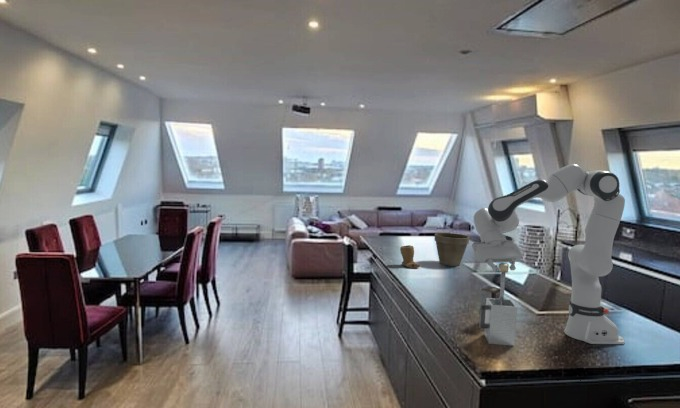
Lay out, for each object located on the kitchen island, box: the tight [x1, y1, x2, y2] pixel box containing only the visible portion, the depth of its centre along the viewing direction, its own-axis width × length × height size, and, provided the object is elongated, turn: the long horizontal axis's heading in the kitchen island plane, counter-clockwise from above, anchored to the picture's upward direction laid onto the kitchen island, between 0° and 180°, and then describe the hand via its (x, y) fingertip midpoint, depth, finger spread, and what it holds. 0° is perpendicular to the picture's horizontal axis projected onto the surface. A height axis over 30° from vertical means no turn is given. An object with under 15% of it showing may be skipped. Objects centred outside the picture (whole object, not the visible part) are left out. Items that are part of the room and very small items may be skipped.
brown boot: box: [399, 244, 421, 269], centre depth 309 cm, size 15×12×15 cm
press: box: [478, 298, 518, 347], centre depth 180 cm, size 13×10×16 cm
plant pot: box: [434, 232, 470, 267], centre depth 322 cm, size 25×25×22 cm
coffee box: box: [478, 285, 500, 325], centre depth 200 cm, size 9×6×16 cm
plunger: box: [498, 262, 510, 306], centre depth 179 cm, size 8×8×22 cm
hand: (504, 269), depth 178 cm, fingers open, 7 cm apart
